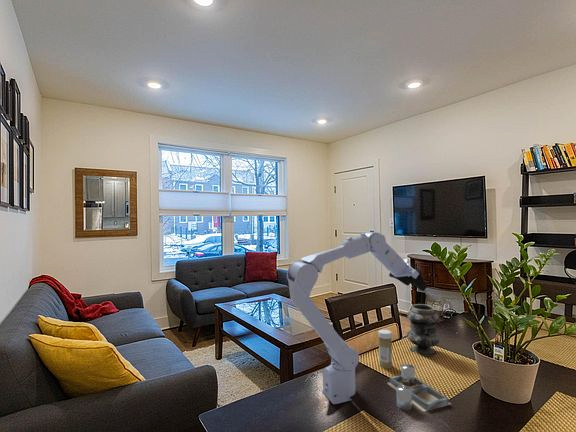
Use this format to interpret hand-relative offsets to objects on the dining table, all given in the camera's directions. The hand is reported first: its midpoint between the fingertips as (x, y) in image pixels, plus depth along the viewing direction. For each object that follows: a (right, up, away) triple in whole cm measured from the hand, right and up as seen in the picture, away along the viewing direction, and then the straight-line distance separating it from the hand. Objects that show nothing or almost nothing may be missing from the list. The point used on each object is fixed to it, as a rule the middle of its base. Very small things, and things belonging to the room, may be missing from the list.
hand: (416, 285), depth 105 cm
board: (-4, -31, -10) cm, 33 cm away
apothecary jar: (+11, -31, +21) cm, 40 cm away
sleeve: (-10, -31, -17) cm, 37 cm away
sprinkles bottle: (-8, -31, +7) cm, 33 cm away
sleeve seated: (-5, -30, -7) cm, 31 cm away
